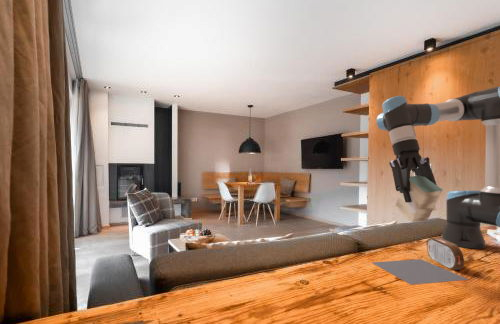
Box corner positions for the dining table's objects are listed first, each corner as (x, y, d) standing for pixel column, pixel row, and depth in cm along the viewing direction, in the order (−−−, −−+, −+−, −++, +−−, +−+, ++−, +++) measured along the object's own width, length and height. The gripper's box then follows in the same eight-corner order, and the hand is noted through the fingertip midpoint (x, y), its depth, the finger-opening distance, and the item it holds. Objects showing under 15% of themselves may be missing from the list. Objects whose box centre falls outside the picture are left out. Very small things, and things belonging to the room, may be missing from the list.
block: (409, 204, 94) (422, 175, 88) (427, 220, 87) (442, 189, 81) (394, 206, 93) (406, 176, 87) (411, 222, 86) (426, 191, 80)
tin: (465, 274, 85) (465, 247, 85) (454, 274, 85) (455, 246, 85) (433, 257, 100) (433, 234, 100) (424, 257, 100) (425, 234, 100)
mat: (421, 260, 96) (421, 259, 96) (469, 280, 80) (469, 279, 80) (371, 263, 92) (371, 262, 92) (410, 286, 75) (410, 284, 75)
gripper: (419, 143, 96) (437, 209, 91) (372, 146, 92) (388, 215, 87) (437, 136, 89) (458, 207, 84) (387, 139, 85) (406, 214, 80)
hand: (422, 211), depth 85 cm, fingers closed on block, 6 cm apart
